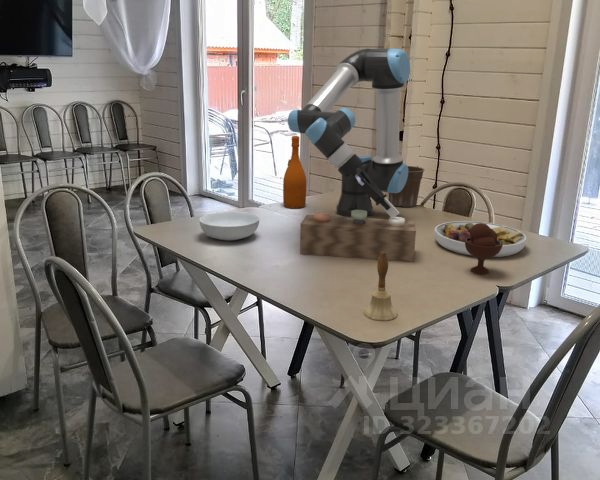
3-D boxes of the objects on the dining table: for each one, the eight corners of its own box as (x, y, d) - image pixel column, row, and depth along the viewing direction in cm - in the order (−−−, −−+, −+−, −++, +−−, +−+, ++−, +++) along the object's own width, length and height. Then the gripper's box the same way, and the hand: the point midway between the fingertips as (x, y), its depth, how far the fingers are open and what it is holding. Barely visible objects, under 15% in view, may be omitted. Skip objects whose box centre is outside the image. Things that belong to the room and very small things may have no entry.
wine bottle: (306, 204, 249) (308, 134, 240) (304, 209, 240) (306, 137, 231) (284, 203, 250) (285, 134, 241) (281, 208, 241) (282, 136, 232)
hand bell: (359, 317, 139) (363, 255, 134) (368, 304, 146) (371, 245, 141) (393, 323, 136) (398, 260, 131) (400, 310, 143) (405, 249, 138)
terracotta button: (312, 233, 185) (313, 215, 183) (315, 229, 190) (315, 211, 188) (328, 234, 184) (328, 216, 183) (329, 230, 189) (330, 212, 187)
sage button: (350, 231, 183) (350, 213, 181) (351, 227, 187) (352, 209, 186) (365, 232, 182) (366, 214, 180) (366, 228, 187) (367, 210, 185)
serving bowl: (251, 226, 213) (251, 209, 211) (266, 243, 194) (266, 223, 192) (195, 231, 207) (195, 212, 205) (205, 248, 188) (204, 228, 186)
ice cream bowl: (494, 280, 164) (500, 230, 160) (456, 272, 170) (461, 224, 165) (503, 270, 173) (509, 222, 168) (466, 263, 178) (471, 216, 174)
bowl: (452, 229, 216) (454, 209, 214) (534, 244, 200) (537, 222, 197) (419, 248, 193) (421, 226, 190) (509, 267, 176) (512, 243, 174)
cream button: (387, 238, 181) (388, 220, 180) (387, 234, 186) (389, 216, 184) (403, 239, 181) (404, 221, 179) (403, 235, 185) (404, 217, 184)
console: (300, 253, 184) (300, 223, 181) (305, 242, 195) (306, 214, 192) (413, 261, 178) (415, 231, 176) (412, 250, 190) (415, 221, 187)
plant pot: (401, 198, 263) (403, 163, 258) (429, 205, 251) (432, 169, 246) (376, 203, 253) (378, 167, 248) (404, 210, 241) (407, 172, 236)
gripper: (339, 165, 186) (387, 218, 188) (334, 172, 174) (386, 228, 176) (356, 150, 184) (405, 203, 186) (352, 155, 172) (405, 212, 174)
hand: (395, 215), depth 181 cm, fingers closed
